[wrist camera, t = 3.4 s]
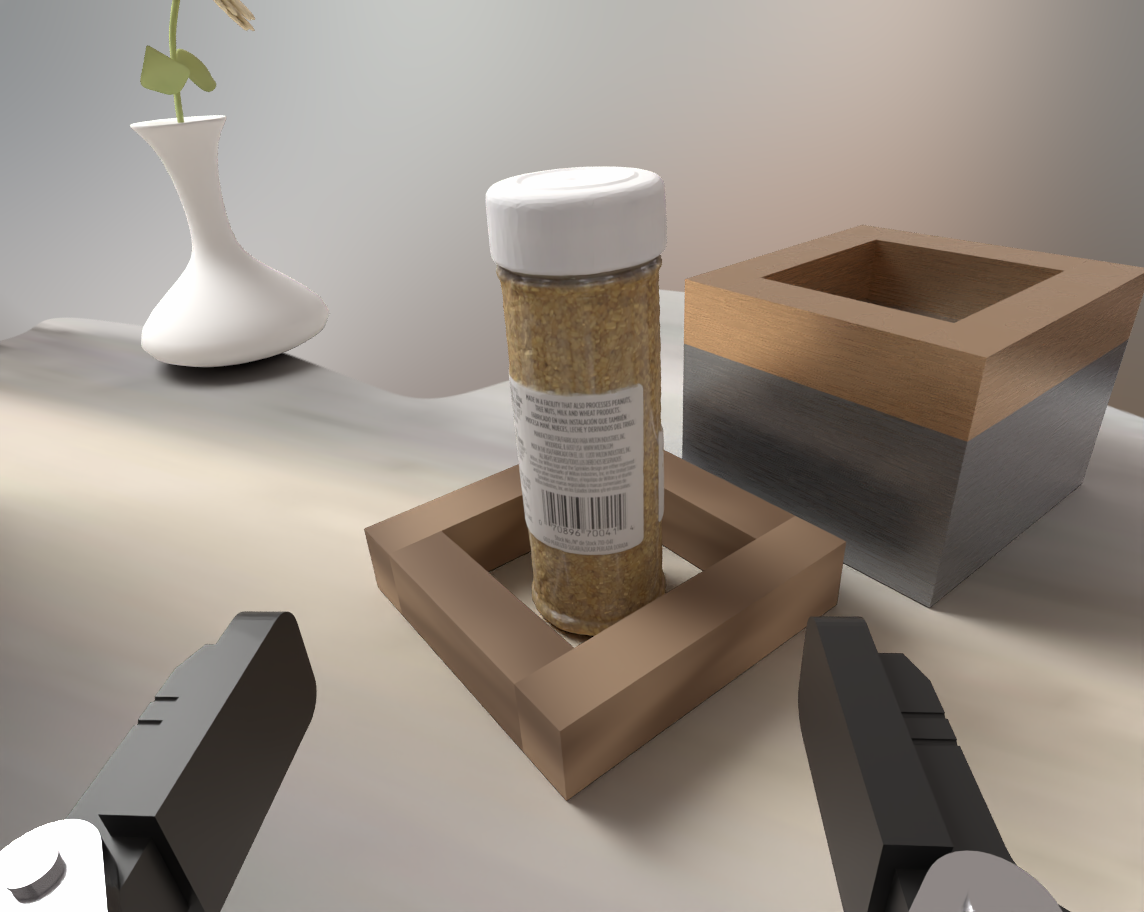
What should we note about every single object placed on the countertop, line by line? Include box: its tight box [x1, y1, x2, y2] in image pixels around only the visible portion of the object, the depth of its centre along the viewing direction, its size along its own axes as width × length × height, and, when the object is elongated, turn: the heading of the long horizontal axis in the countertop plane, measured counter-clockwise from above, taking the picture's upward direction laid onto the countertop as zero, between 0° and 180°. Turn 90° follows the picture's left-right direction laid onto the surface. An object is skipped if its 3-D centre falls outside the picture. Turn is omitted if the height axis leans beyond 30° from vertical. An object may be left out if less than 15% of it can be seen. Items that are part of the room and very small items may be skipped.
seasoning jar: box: [486, 167, 667, 636], centre depth 22 cm, size 5×4×14 cm
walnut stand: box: [364, 450, 846, 801], centre depth 24 cm, size 11×11×2 cm
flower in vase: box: [130, 0, 330, 367], centre depth 43 cm, size 13×11×25 cm
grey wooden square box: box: [682, 225, 1144, 608], centre depth 28 cm, size 11×11×8 cm
